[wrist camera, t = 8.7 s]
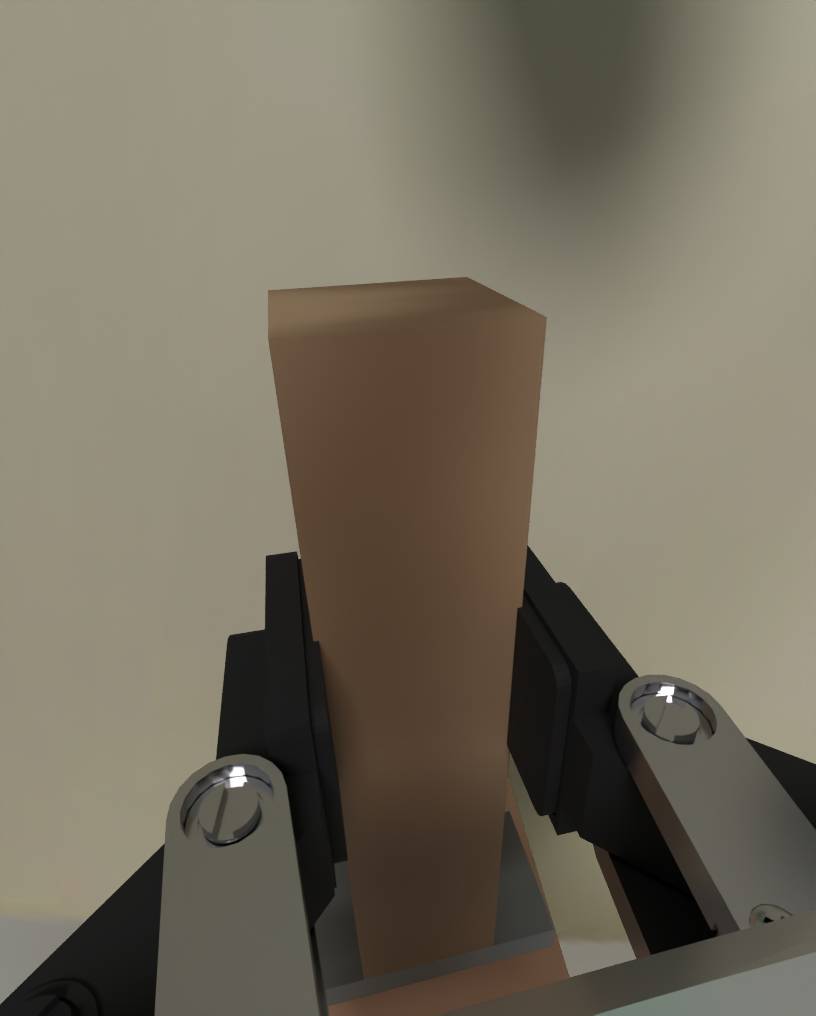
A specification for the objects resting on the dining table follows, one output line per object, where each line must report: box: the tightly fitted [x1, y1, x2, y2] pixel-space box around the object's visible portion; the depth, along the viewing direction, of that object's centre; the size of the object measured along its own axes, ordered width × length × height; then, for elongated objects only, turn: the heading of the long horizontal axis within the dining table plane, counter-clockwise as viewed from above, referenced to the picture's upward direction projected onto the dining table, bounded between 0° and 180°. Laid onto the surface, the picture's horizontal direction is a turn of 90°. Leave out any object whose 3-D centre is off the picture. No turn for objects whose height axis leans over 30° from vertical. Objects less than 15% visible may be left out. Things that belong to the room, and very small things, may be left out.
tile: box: [328, 777, 569, 1016], centre depth 16 cm, size 7×2×10 cm, turn 92°
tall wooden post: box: [268, 277, 555, 1006], centre depth 11 cm, size 6×15×3 cm, turn 2°
